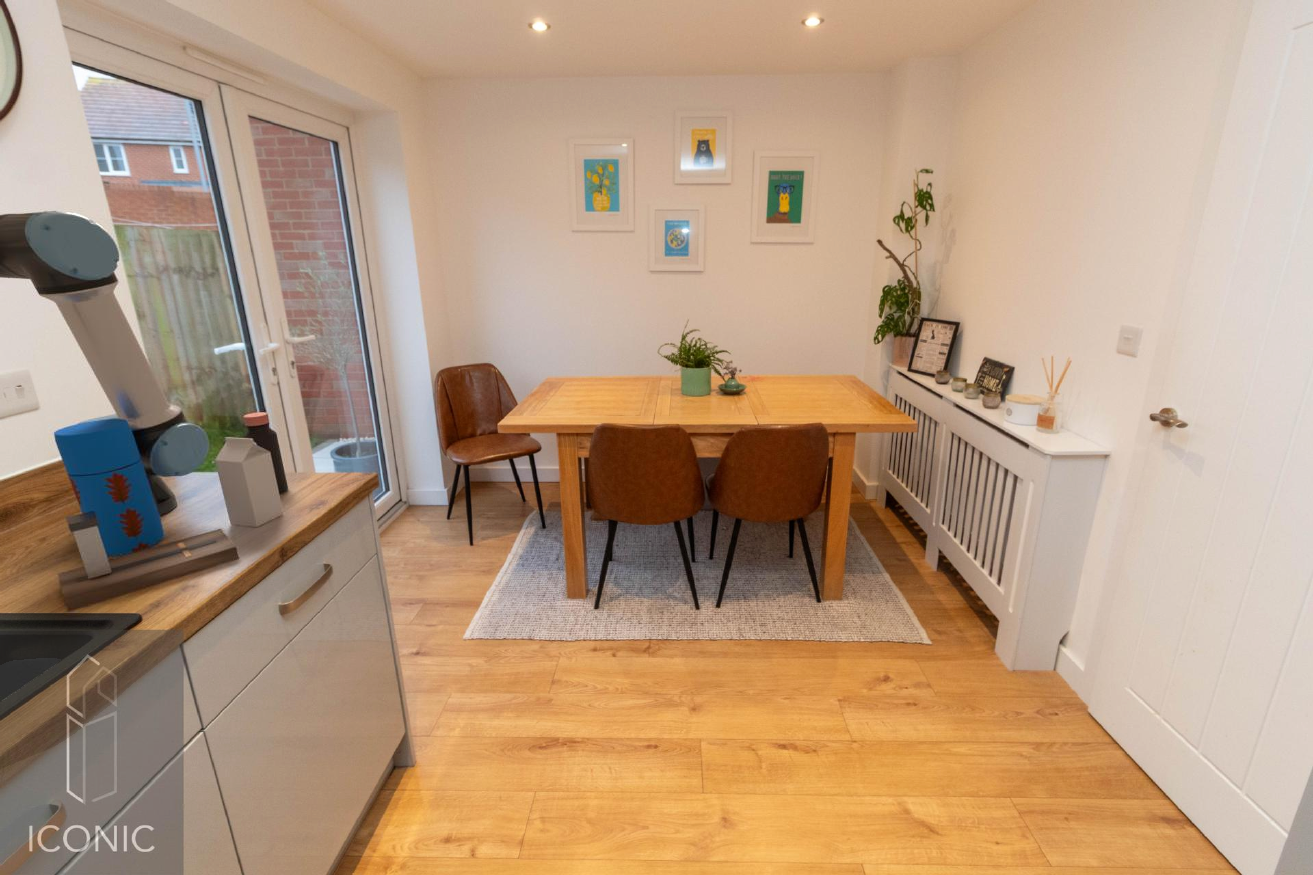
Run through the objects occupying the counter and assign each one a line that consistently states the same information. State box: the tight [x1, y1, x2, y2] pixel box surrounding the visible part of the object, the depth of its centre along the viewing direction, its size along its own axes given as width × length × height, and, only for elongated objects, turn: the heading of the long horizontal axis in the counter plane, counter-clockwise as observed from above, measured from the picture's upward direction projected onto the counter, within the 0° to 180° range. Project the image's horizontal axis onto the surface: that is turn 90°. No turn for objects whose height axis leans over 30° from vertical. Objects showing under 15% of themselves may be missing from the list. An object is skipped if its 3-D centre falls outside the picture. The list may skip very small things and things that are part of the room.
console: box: [57, 528, 240, 612], centre depth 109 cm, size 12×24×3 cm, turn 137°
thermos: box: [53, 419, 165, 557], centre depth 116 cm, size 11×11×25 cm
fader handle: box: [65, 511, 112, 579], centre depth 102 cm, size 5×4×10 cm
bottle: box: [242, 411, 289, 495], centre depth 144 cm, size 7×7×20 cm
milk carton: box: [214, 436, 284, 528], centre depth 128 cm, size 7×7×19 cm
